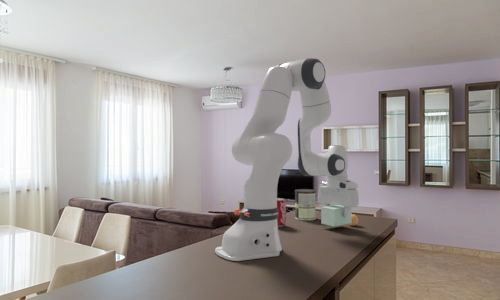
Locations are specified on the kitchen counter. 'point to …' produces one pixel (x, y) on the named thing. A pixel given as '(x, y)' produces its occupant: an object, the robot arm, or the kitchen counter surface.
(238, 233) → the robot arm
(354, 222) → the orange sphere
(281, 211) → the soda can
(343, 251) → the kitchen counter surface
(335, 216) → the mint green block
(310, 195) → the coffee can
